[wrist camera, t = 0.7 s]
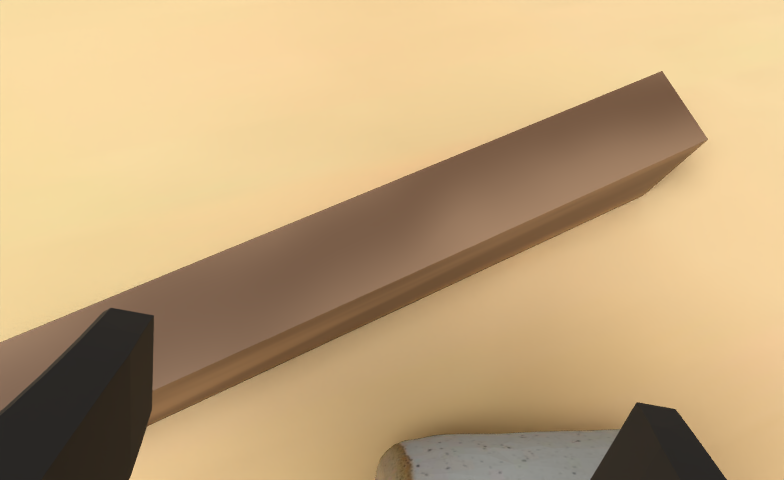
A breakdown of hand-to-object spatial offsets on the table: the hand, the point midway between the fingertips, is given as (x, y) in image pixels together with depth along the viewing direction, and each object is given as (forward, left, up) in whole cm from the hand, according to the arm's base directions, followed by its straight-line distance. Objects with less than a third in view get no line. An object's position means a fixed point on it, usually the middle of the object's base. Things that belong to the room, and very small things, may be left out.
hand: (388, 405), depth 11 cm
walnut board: (+5, -3, -15) cm, 17 cm away
